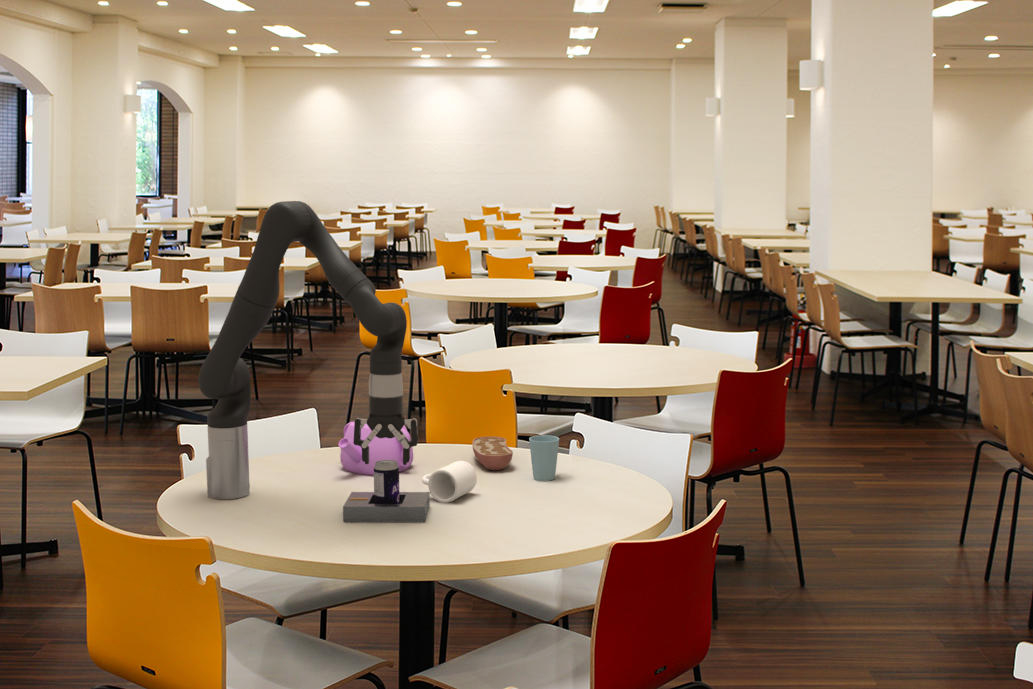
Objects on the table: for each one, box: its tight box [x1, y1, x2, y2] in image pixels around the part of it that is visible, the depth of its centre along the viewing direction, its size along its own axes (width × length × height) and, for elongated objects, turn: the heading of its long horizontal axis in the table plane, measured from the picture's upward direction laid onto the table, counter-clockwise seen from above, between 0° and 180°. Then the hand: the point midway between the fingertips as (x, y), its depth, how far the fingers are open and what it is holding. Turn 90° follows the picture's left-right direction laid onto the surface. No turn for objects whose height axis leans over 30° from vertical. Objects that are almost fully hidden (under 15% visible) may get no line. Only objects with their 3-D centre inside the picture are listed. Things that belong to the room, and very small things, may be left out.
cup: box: [528, 434, 560, 482], centre depth 272 cm, size 8×8×10 cm
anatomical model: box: [471, 436, 513, 471], centre depth 289 cm, size 23×10×5 cm, turn 7°
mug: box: [421, 460, 478, 504], centre depth 256 cm, size 12×10×8 cm
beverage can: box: [373, 460, 400, 504], centre depth 241 cm, size 6×6×12 cm
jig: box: [342, 491, 431, 523], centre depth 241 cm, size 18×12×4 cm, turn 90°
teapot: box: [337, 421, 414, 477], centre depth 281 cm, size 19×21×14 cm
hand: (386, 463), depth 240 cm, fingers open, 8 cm apart
